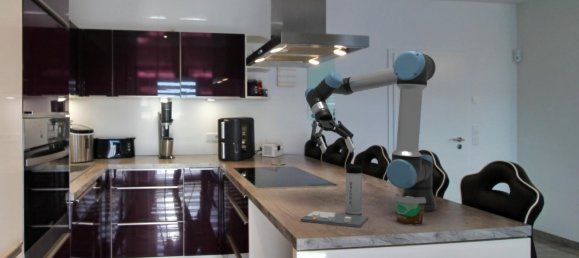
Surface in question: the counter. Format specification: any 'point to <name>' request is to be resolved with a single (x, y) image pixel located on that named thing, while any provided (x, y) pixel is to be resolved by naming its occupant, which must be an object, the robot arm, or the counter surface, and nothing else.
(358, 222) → the breaker panel
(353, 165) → the travel mug
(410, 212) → the food container
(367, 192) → the counter surface
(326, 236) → the counter surface
